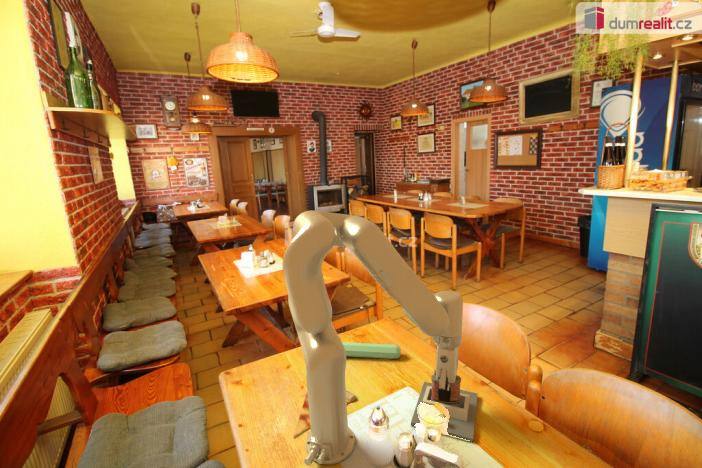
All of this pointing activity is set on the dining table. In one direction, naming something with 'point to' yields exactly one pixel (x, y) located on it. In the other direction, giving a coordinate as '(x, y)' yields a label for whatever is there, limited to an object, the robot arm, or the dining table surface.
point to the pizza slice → (305, 417)
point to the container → (372, 350)
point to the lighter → (454, 388)
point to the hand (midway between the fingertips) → (445, 394)
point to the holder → (453, 412)
